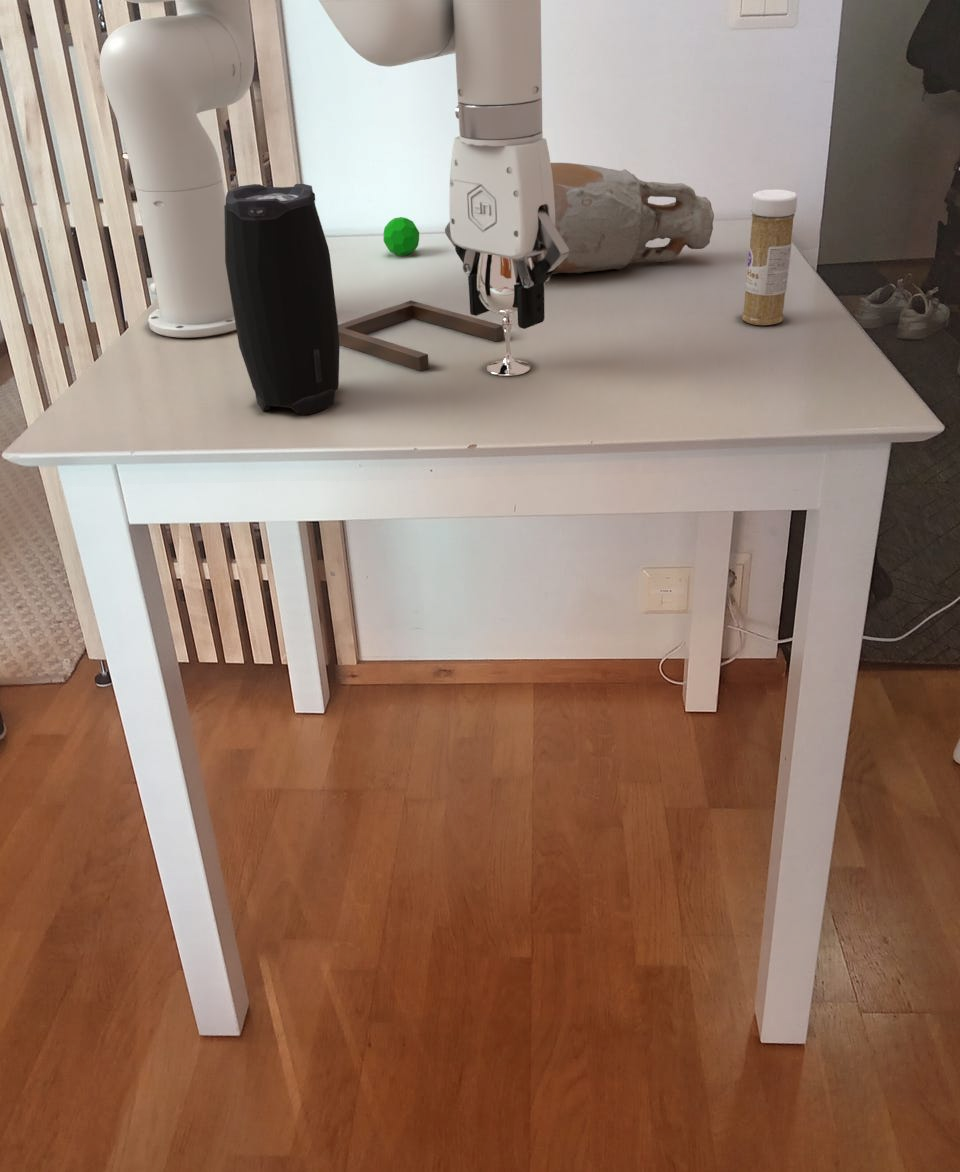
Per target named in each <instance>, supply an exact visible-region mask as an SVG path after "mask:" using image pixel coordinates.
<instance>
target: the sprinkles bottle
mask: <svg viewBox="0 0 960 1172" xmlns="http://www.w3.org/2000/svg"><path fill="white" fill-rule="evenodd" d="M750 204H751V206H750V212H751V217H752V218H751V228H750V240H749V247H748V253H747V267H746V276H745V285H744V290H745V291H744V302H743V311H742V313H741V319H742V320H743V321H744V322H745V323H748V324H750V325H754V326H772V325H777V324H779V323H782V322H783V320H784V317H785V315H784V306H785V300H786V299H785V298H786V297H785V296H786V292H787V287H788V280H789V279H788V278H789V269H790V260H791V253H792V251H791V250H792V236H793V227H794V218H795V213H796V212H797V207H798V206H797V205H798V194H797V193H796V192H794V191H792V190H786V189H763V190H759V191H756V192H753V194H752V197H751V203H750Z"/></svg>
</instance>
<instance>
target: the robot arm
mask: <svg viewBox="0 0 960 1172" xmlns="http://www.w3.org/2000/svg"><path fill="white" fill-rule="evenodd" d="M124 1H125V2H129V3H132V4H155V3H156V4H157V3H164V2H165V3H166V2H174V1H175V5H176V12H177V15H165V16H158V17H157V16H156V17H151V18H150V17H149V18H141V19H138V20H137V19H136V20H134V21H130V22H128V23H125V24H123V25H121V26H119V27H117V28H116V29H115V30H113V31H112V32H111V33H110V34H109V35H108V36H107V38H106V40H105V41H104V43H103V45H102V46H101V47H102V48H101V51H100V55H99V71H100V78H101V81H102V85H103V88H104V91H105V94H106V97H107V98H108V101H109V104H110V106H111V109H112V111H113V114H114V116H115V119H116V122H117V124H118V127H119V130H120V134H121V137H122V139H123V144H124V147H125V151H126V154H127V159H128V163H129V168H130V172H131V177H132V182H133V187H134V190H135V191H134V192H135V195H136V201H137V205H138V209H139V214H140V219H141V224H142V229H143V234H144V239H145V245H146V248H147V254H148V258H149V264H150V269H151V272H152V277H153V282H152V283H150V285H149V291H150V293H152V294H153V295H156V298H157V302H158V308H156V309H155V310H153V311H152V312H151V313H150V314H149V316H148V317H147V320H148V326H149V329H150V330H151V331H152V332H154V333H155V334H157V335H160V336H163V337H170V338H182V339H183V338H184V339H188V338H190V339H191V338H203V337H212V336H218V335H223V334H226V333H231V332H234V331H237V330H236V324H235V318H234V312H233V306H232V300H231V294H230V288H229V282H228V276H227V270H226V264H225V213H224V205H225V204H226V190H225V183H224V180H223V179H224V178H223V173H222V168H221V163H220V159H219V155H218V152H217V150H216V147H215V144H214V143H213V141H212V139H211V137H210V135H209V134H208V132H207V130H206V129H205V128H204V126H203V125H202V123H201V121H200V119H199V117H198V114H200V113H203V112H207V111H211V110H216V109H220V108H225V107H228V106H231V105H233V104H236V103H237V102H239V101H240V100H242V99H243V98H244V97H245V95H246V94H247V93H248V91H249V90H250V88H251V86H252V82H253V79H254V73H255V52H254V51H255V49H254V40H253V39H254V38H253V31H252V21H251V11H250V2H249V0H124ZM318 2H319V3H320V5H321V6H322V8H323V10H324V12H325V13H326V14H327V16H328V18H329V19H330V20H331V22H332V23H333V25H334V27H335V28H336V30H337V31H338V32H339V34H340V35H341V36H342V38H343V39H344V41H345V42H346V43H347V44H348V46H349V47H350V48H351V49H353V50H354V51H355V53H357V55H359V57H361V58H363V59H365V60H366V61H367V62H369V63H371V64H374V65H376V66H378V67H379V66H380V67H396V66H402V65H407V64H410V63H415V62H419V61H425V60H431V59H436V58H441V57H444V56H447V55H453V54H455V70H456V73H455V75H456V92H457V106H456V107H455V112H454V114H455V117H456V118H457V120H458V132H459V136H457V137H455V138H454V140H453V145H452V151H451V159H450V170H449V193H448V194H449V198H448V199H449V201H448V202H449V204H448V206H449V211H448V212H449V222H447V224H446V225H445V228H444V233H445V235H446V237H447V238H448V240H449V241H450V243H451V245H452V246H453V247H454V249H455V253H456V255H457V256H458V258H459V259H460V261H461V262H462V270H463V273H464V274H465V275H467V276H468V278H467V279H468V280H467V281H468V296H469V298H468V299H469V301H468V302H469V314H470V315H471V316H476V317H477V316H479V315H483V314H485V313H488V312H491V311H490V310H488V309H486V308H485V307H484V306H483V305H482V303H481V302H480V300H479V297H478V293H477V287H476V276H477V266H478V261H479V256H480V253H485V254H489V255H494V256H499V257H504V258H509V259H515V261H516V265H517V268H518V272H519V275H520V279H521V282H522V285H523V286H520V287H517V325H518V327H519V328H520V329H522V330H524V329H525V330H526V329H528V328H530V327H533V326H536V325H538V324H542V323H543V322H544V321H545V314H546V313H545V283H547V282H549V281H550V279H551V276H552V275H553V274H552V273H553V272H554V271H555V270H556V269H557V267H558V265H560V264H561V263H562V261H563V260H564V259H565V258H566V257H567V256H568V255H569V248H568V247H567V245H566V243H565V242H564V240H563V238H562V237H561V235H560V234H559V232H558V230H557V229H556V227H555V201H554V188H553V177H552V170H551V163H552V162H551V158H550V152H549V147H548V142H547V139H546V138H544V137H543V78H542V77H543V76H542V75H543V73H542V71H543V69H542V68H543V67H542V66H543V65H542V64H543V63H542V60H543V59H542V0H318ZM543 250H547V254H546V255H544V252H543ZM530 257H532V260H533V264H534V267H533V269H532V270H531V267H530V263H529V260H528V258H530Z"/></svg>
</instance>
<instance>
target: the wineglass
mask: <svg viewBox="0 0 960 1172" xmlns="http://www.w3.org/2000/svg"><path fill="white" fill-rule="evenodd" d="M528 260H529V263H530V267H531V270H532V269H533V267H534V265H533V261H532V257H530V258H528ZM520 286H523V285H522V282H521V279H520V275H519V272H518V268H517V265H516V261H515V259H509V258H504V257H499V256H494V255H489V254H485V253H480V256H479V261H478V266H477V276H476V287H477V293H478V297H479V300H480V302H481V303H482V305H483V306H484V307H485V308H486V309H488V310H490V311H489V312H491V313H493V314H497V315H502V316H503V318H502V320H501V321H502V322H501V325H502V326H503V330H504V340H505V355H504V357H503V359H500V360H495V361H493V362H491V363H489V364H488V365H487V366H486V371H487V372H488V373H489V374H491V375H495V376H501V377H510V376H511V377H512V376H519V375H524V374H526V373H528V372H529V371H530V370H531V365H530V363H529V362H527V361H524V360H521V359H514V358H513V356H512V353H511V335H512V334H511V333H512V330H513V320H512V318H511V315H514V314H518V312H517V287H520Z"/></svg>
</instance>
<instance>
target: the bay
mask: <svg viewBox="0 0 960 1172" xmlns="http://www.w3.org/2000/svg"><path fill="white" fill-rule="evenodd" d="M410 319H411V320H412V319H416V320H419V321H423V322H425V323H426V322H427V323H430V324H433V325H437V326H439V327H440V326H441V327H444V328H448V329H451V330H454V331H458V332H461V333H465V334H469V335H472V336H475V337H479V338H482V339H486V340H490V341H493V342H500V341H502V340H505V334H504V330H503V326H502V324H500V323H495V322H492V321H488V320H485V319H481V318H477V317H473V316H470V315H467V314H463V313H459V312H455V311H452V310H448V309H444V308H440V307H437V306H433V305H429V304H426V303H422V302H419V301H415V300H408V301H405V302H401V303H399V304H395V305H393V306H390V307H387V308H384V309H381V310H378V311H374V312H372V313H369V314H366V315H363V316H360V317H357V318H354V319H351V320H348V321H345V322H342V323H338V333H339V345H340V346H343V347H345V348H349V349H352V350H355V351H357V352H360V353H364V354H366V355H370V356H373V357H376V358H379V359H383V360H386V361H389V362H392V363H395V364H397V365H400V366H403V367H406V368H410V369H413V370H415V371H419V372H422V371H424V370H428V369H430V365H429V364H430V363H429V354H428V353H425V352H423V351H419V350H416V349H413V348H410V347H407V346H403V345H400V344H397V343H394V342H390V341H387V340H385V339H381V338H378V337H374V336H371V335H368V334H371V333H373V332H376V331H379V330H381V329H384V328H388V327H390V326H394V325H396V324H399V323H403V322H405V321H409V320H410Z"/></svg>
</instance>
